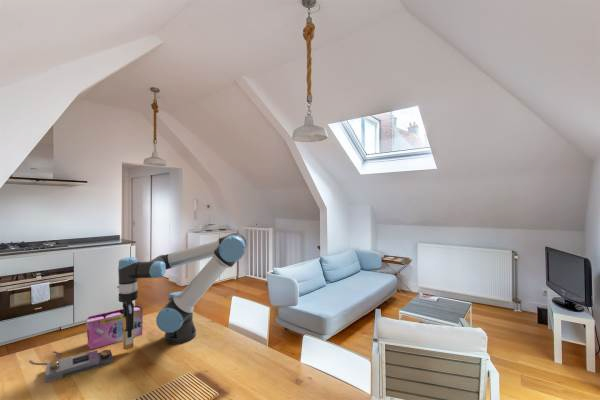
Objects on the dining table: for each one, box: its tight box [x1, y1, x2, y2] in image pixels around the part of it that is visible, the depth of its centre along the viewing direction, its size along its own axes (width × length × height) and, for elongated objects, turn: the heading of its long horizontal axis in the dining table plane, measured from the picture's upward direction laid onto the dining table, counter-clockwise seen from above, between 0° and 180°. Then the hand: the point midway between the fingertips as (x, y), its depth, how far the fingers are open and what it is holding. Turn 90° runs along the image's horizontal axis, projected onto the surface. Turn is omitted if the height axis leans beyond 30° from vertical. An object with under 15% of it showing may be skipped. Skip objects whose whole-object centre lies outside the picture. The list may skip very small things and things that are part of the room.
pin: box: [122, 317, 134, 351], centre depth 131 cm, size 4×4×14 cm
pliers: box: [29, 350, 61, 366], centre depth 124 cm, size 10×1×20 cm
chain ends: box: [44, 349, 114, 384], centre depth 120 cm, size 22×10×5 cm, turn 129°
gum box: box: [85, 305, 144, 351], centre depth 143 cm, size 24×8×14 cm, turn 135°
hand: (128, 341), depth 131 cm, fingers closed on pin, 4 cm apart
